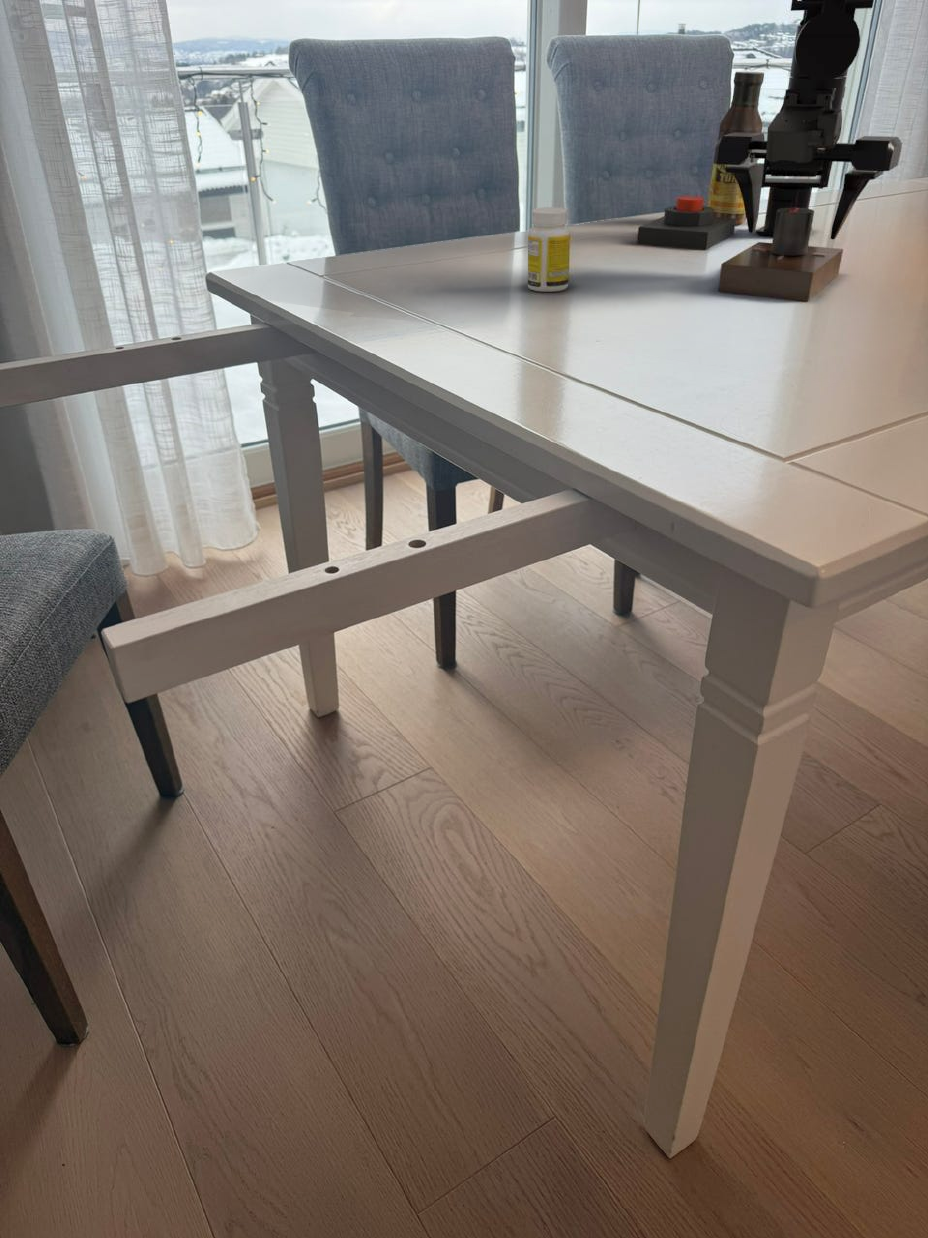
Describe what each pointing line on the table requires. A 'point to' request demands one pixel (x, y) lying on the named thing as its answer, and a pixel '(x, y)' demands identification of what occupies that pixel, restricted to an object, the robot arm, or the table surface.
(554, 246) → the supplement bottle
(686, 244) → the button box
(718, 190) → the sauce bottle
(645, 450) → the table surface
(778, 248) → the knob
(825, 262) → the knob panel
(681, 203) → the button
